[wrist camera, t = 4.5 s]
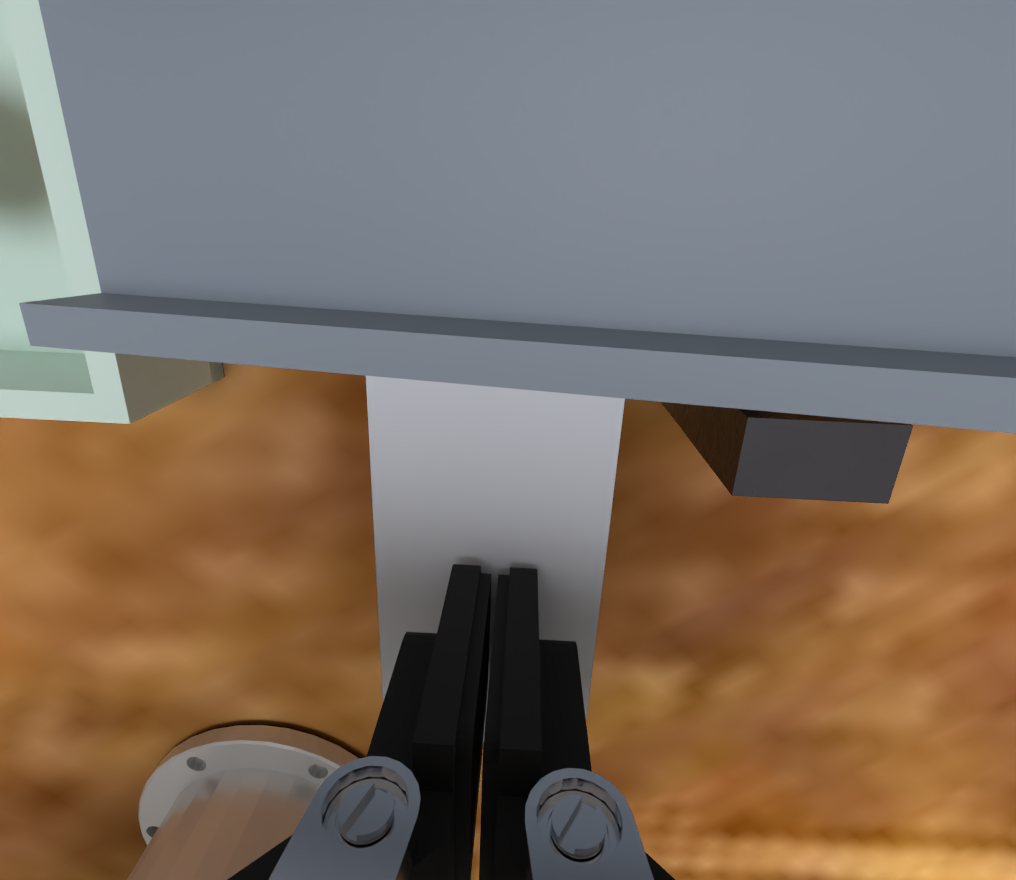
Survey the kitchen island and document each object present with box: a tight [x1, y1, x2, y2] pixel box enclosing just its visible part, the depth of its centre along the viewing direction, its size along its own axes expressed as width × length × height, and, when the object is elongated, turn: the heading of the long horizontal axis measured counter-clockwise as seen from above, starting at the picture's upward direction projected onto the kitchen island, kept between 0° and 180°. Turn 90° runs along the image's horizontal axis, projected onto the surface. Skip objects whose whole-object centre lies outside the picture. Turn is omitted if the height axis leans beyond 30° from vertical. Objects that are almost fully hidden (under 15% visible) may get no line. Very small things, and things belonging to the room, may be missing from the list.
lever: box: [19, 0, 1016, 743], centre depth 11 cm, size 16×30×5 cm, turn 88°
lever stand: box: [662, 402, 913, 504], centre depth 13 cm, size 13×5×9 cm, turn 178°
